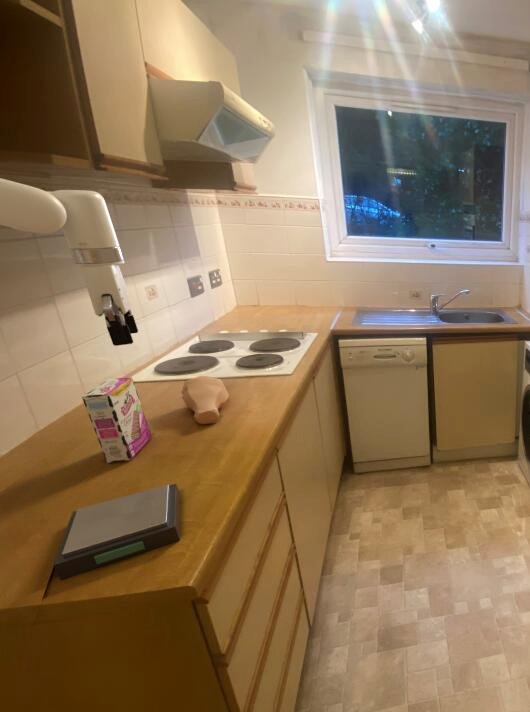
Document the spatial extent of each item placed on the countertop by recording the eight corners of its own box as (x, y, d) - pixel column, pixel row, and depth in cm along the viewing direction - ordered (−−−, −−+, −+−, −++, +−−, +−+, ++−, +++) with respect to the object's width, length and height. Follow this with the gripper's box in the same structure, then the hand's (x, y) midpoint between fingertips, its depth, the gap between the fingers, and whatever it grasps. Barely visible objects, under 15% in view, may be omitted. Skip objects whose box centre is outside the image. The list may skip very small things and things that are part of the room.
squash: (226, 395, 131) (225, 368, 128) (234, 429, 118) (234, 399, 114) (181, 398, 125) (179, 370, 121) (185, 434, 111) (182, 403, 108)
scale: (60, 582, 67) (52, 567, 65) (78, 525, 78) (72, 511, 77) (179, 542, 74) (174, 528, 73) (180, 495, 86) (176, 483, 85)
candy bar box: (133, 460, 98) (108, 394, 91) (106, 464, 96) (79, 397, 90) (154, 437, 108) (132, 376, 101) (130, 440, 106) (106, 378, 100)
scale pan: (63, 558, 67) (61, 554, 67) (79, 512, 77) (77, 508, 77) (167, 525, 74) (166, 521, 74) (169, 487, 84) (168, 484, 83)
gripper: (82, 254, 92) (110, 332, 98) (62, 262, 79) (96, 352, 85) (127, 252, 96) (151, 327, 102) (116, 260, 82) (145, 346, 89)
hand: (126, 338), depth 94 cm, fingers open, 9 cm apart
